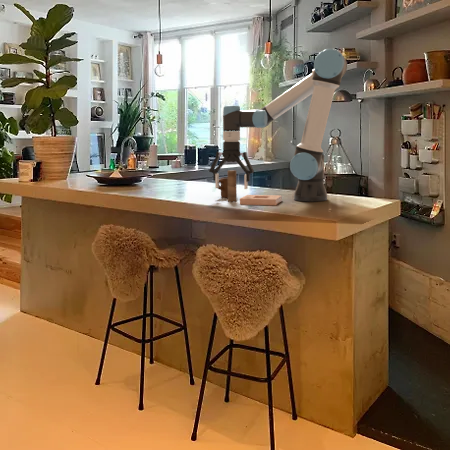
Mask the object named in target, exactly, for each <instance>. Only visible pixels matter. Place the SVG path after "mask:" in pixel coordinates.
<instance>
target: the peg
mask: <svg viewBox="0 0 450 450" xmlns="http://www.w3.org/2000/svg"><path fill="white" fill-rule="evenodd" d="M227 177H228V198H227V202H229V203H236V202H237V199H238V197H237V194H238V193H237V170H236V169H235V170H233V169H230V170H227Z"/></svg>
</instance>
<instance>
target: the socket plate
mask: <svg viewBox="0 0 450 450" xmlns="http://www.w3.org/2000/svg"><path fill="white" fill-rule="evenodd" d="M281 202H283V196H282V195H277V194H275V195H274V194H273V195H271V194H269V195H268V194H246V195H245V196H242V197H240V198H239V205H252V206H253V205H254V206H255V205H257V206H277V205H278V204H280V203H281Z"/></svg>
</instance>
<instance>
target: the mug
mask: <svg viewBox="0 0 450 450" xmlns="http://www.w3.org/2000/svg"><path fill="white" fill-rule="evenodd" d="M217 189H218V190H220V197H221V198H223V199H224V198H225V199H228V176H223V177H220V178H219V188H217Z"/></svg>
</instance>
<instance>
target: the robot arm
mask: <svg viewBox="0 0 450 450" xmlns="http://www.w3.org/2000/svg"><path fill="white" fill-rule="evenodd" d="M347 69H348V63H347V60H346V58H345V56H344V55H343V53H342V52H341V51H339V50H338V49H334V48H326V49H323V50H322V51H320V52H318V53H317V55H316V57H315V58H314V61H313V69H312V72H311V73H310V74H309V75H307V76H306V77H304V78H303V79H302V80H300V81H299V82H297V83H296V84H294V85H293V86H292V87H290V88H289V89H287V90H286V91H284V92H283V93H281V94H280V95H278V96H277V97H275V99H273V100H271V101H270V102H269V103H267V104H266V105H264V106H263V107H262V108H259V109H249V110H248V109H246V110H245V109H243V110H242V109H241V106H239V105H225V106H223V109H222V110H223V111H222V140H223V142H222V152H221V151H216V153H215V157H214V159H213V162H212V164H211V166H210V168H209V173H212V175H213V176H212V177H213V181H215V187H214V188H215V189H218V188H219V185H220V182H219V179H220V175H219V174H220V173H218V172H219V171H220V170H221V169H222V167H223V166H224V165H225V163H226V162H227V163H237V164H238V165H239V166H240V169H242V171H243V172H244V173H245V174H244V180H243V181H244V190H247V189H248V185H249V184H248V182H250V180H251V179H250V177H251V174H254V172H255V170H254V168H253V166H252V164H251V162H250V160H249V157H248V153H247V151H244V152H241V142H240V141H241V128H253V129H254V128H258V129H259V128H260V129H264V128H267V127H268V126H269V125H270V124H271V123H272V122H273V121H275V120H276V119H277V118H279V117H280V116H282V115H283V114H285V113H286V112H288V111H289V110H290V109H292V108H294V107H295V106H296V105H299V103H301V102H302V101H304V100H305V99H307V98H308V97H310V96H311V98H310V103H309V107H308V112H307V115H306V120H305V124H304V128H303V132H302V136H301V141H300V143H298V144H296V147H295V150H294V156H293V157H292V158H291V160H290V164H289V169H290V172H291V173H292V175H293V176H294V177H295V178H296V179H297V184H296V187H295V191H294V194H293V200H294V201H300V202H325V201H327V200H328V193H327V189H326V186H325V183H324V181H325V180H324V179H325V158H326V157H325V151H324V149H322V143H323V139H324V135H325V132H326V127H327V123H328V119H329V115H330V111H331V106H332V103H333V99H334V95H335V91H336V90H337V89H339V88H340V86H341V82H342V77H344V75H345V74H346V72H347ZM221 157H223V158H222V160H221V162H220V163H219V164H218V162H219V160H220V158H221ZM240 157H242V158H243V160H244V162H245V164H244V163H243V162H242V159H240ZM217 164H218V165H217Z"/></svg>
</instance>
